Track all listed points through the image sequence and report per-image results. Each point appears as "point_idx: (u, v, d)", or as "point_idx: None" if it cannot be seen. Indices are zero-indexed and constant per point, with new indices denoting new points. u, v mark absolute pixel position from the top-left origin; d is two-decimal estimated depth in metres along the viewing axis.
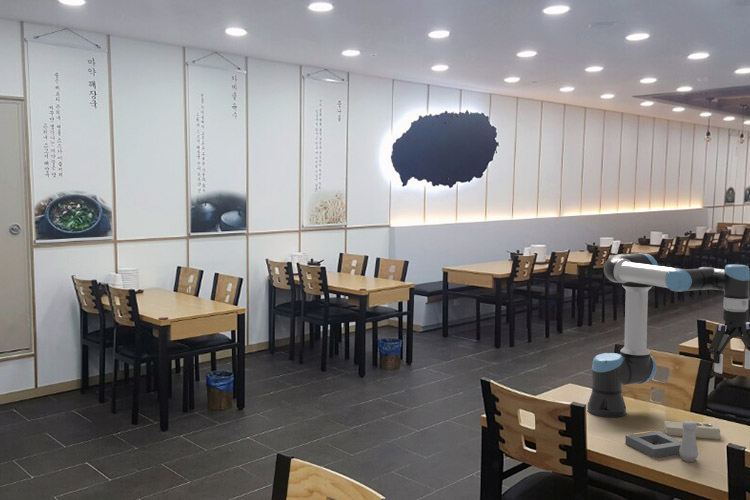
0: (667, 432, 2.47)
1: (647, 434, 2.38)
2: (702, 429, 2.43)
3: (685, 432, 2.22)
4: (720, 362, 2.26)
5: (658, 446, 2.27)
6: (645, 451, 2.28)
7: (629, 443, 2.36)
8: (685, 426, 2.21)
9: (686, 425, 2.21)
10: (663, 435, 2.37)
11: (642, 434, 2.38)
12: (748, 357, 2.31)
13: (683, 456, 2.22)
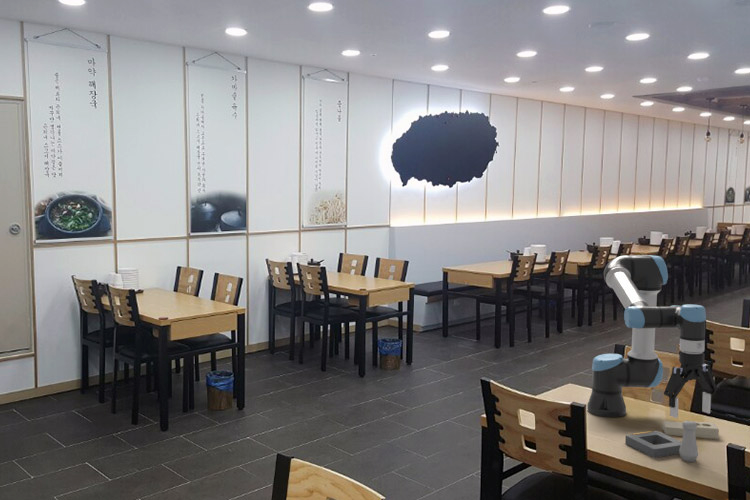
0: (666, 432, 2.47)
1: (647, 434, 2.38)
2: (701, 429, 2.43)
3: (685, 432, 2.22)
4: (675, 406, 2.18)
5: (658, 446, 2.27)
6: (645, 451, 2.28)
7: (629, 443, 2.36)
8: (685, 426, 2.21)
9: (686, 425, 2.21)
10: (663, 435, 2.37)
11: (642, 434, 2.38)
12: (705, 400, 2.23)
13: (683, 456, 2.22)
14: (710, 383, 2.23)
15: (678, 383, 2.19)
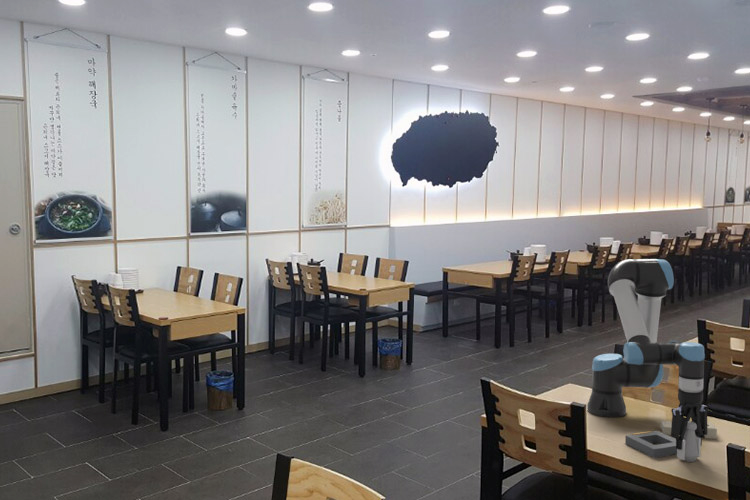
0: (664, 432, 2.47)
1: (647, 434, 2.38)
2: None
3: (685, 432, 2.22)
4: (682, 448, 2.21)
5: (658, 446, 2.27)
6: (645, 451, 2.28)
7: (629, 443, 2.36)
8: None
9: None
10: (663, 435, 2.37)
11: (642, 434, 2.38)
12: None
13: None
14: (702, 425, 2.23)
15: (681, 424, 2.21)
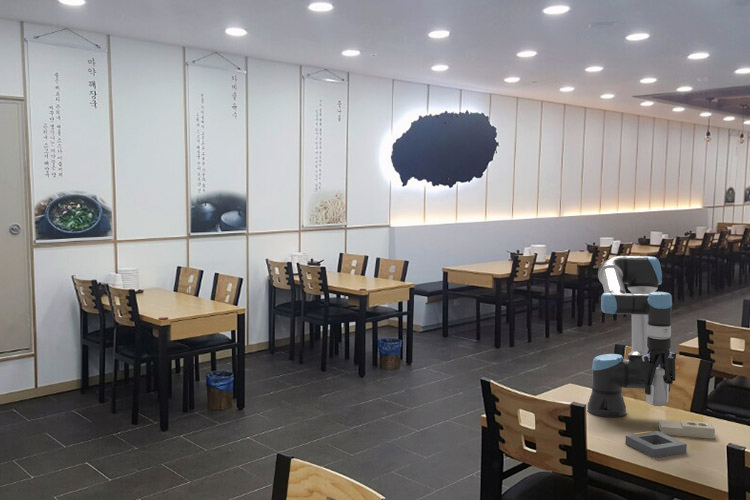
0: (662, 432, 2.47)
1: (647, 434, 2.38)
2: (697, 428, 2.44)
3: (654, 378, 2.31)
4: (651, 393, 2.30)
5: (658, 446, 2.27)
6: (645, 451, 2.28)
7: (629, 443, 2.36)
8: None
9: (655, 371, 2.30)
10: (663, 435, 2.37)
11: (642, 434, 2.38)
12: None
13: None
14: (670, 372, 2.33)
15: (650, 370, 2.30)
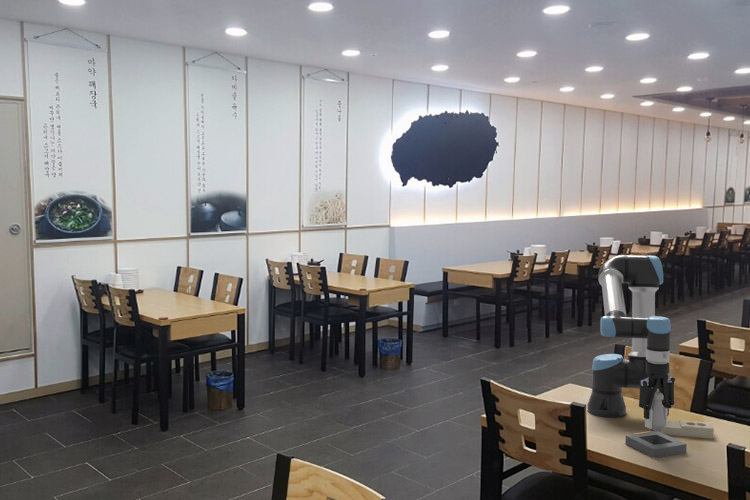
0: (661, 432, 2.47)
1: (647, 434, 2.38)
2: (696, 428, 2.44)
3: (653, 402, 2.32)
4: (650, 418, 2.30)
5: (658, 446, 2.27)
6: (645, 451, 2.28)
7: (629, 443, 2.36)
8: None
9: None
10: (663, 435, 2.37)
11: (642, 434, 2.38)
12: None
13: None
14: (669, 396, 2.33)
15: (648, 394, 2.31)
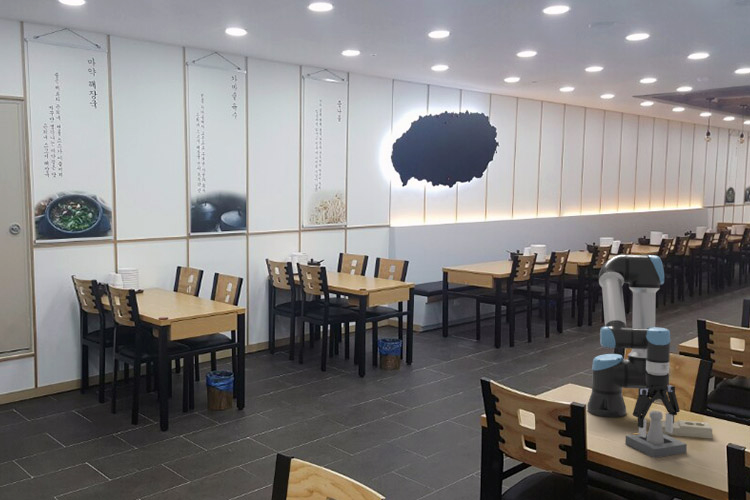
0: None
1: (647, 434, 2.38)
2: (694, 428, 2.44)
3: (652, 421, 2.32)
4: (644, 426, 2.30)
5: (658, 446, 2.27)
6: (645, 451, 2.28)
7: (629, 443, 2.36)
8: (651, 416, 2.32)
9: (652, 415, 2.31)
10: (663, 435, 2.37)
11: None
12: (668, 421, 2.34)
13: None
14: (673, 404, 2.34)
15: (645, 404, 2.31)
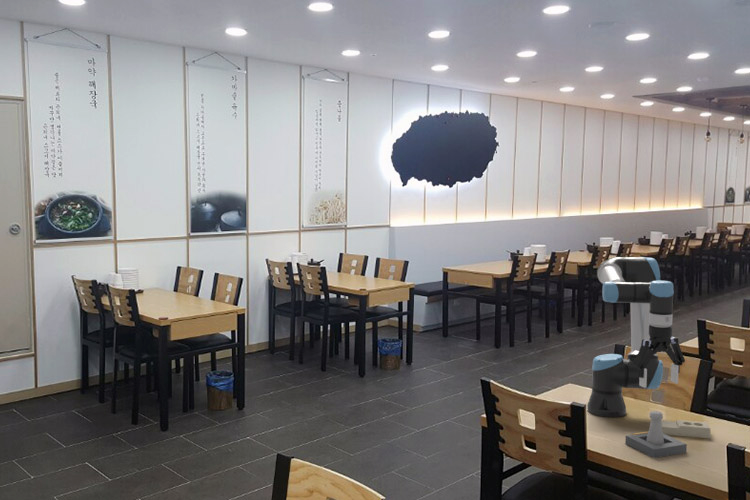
0: None
1: (647, 434, 2.38)
2: (692, 428, 2.44)
3: (652, 422, 2.32)
4: (644, 376, 2.30)
5: (658, 446, 2.27)
6: (645, 451, 2.28)
7: (629, 443, 2.36)
8: (652, 416, 2.31)
9: (652, 415, 2.31)
10: (663, 435, 2.37)
11: (642, 434, 2.38)
12: (674, 371, 2.36)
13: None
14: (678, 355, 2.35)
15: (647, 355, 2.31)
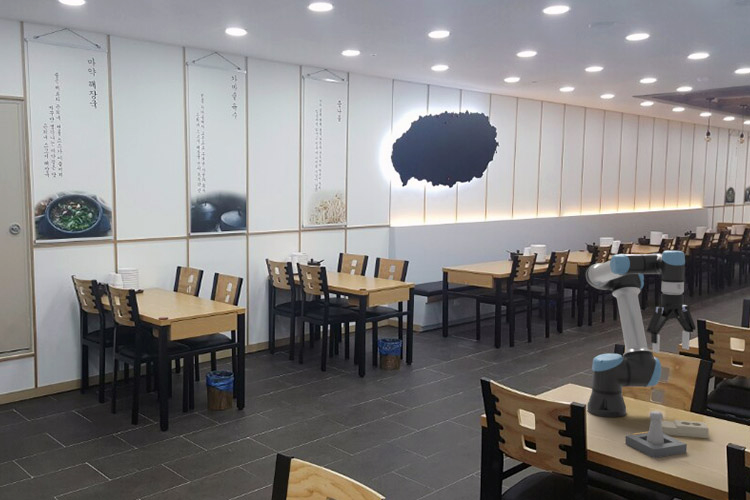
0: None
1: (647, 434, 2.38)
2: (691, 428, 2.44)
3: (652, 422, 2.32)
4: (657, 342, 2.40)
5: (658, 446, 2.27)
6: (645, 451, 2.28)
7: (629, 443, 2.36)
8: (652, 416, 2.31)
9: (652, 415, 2.31)
10: (663, 435, 2.37)
11: (642, 434, 2.38)
12: (685, 338, 2.46)
13: None
14: (689, 322, 2.45)
15: (660, 321, 2.41)
